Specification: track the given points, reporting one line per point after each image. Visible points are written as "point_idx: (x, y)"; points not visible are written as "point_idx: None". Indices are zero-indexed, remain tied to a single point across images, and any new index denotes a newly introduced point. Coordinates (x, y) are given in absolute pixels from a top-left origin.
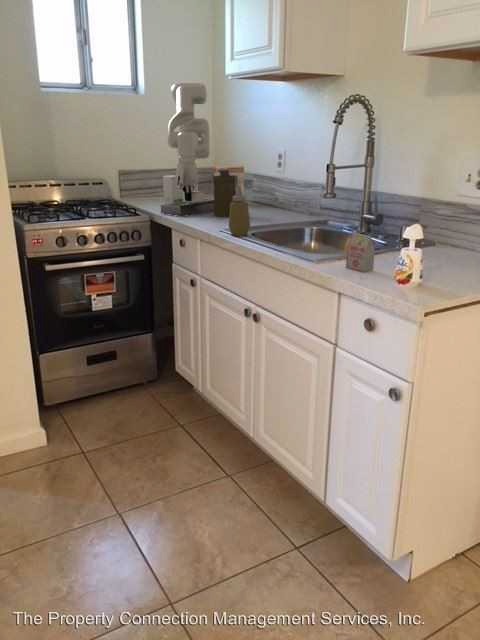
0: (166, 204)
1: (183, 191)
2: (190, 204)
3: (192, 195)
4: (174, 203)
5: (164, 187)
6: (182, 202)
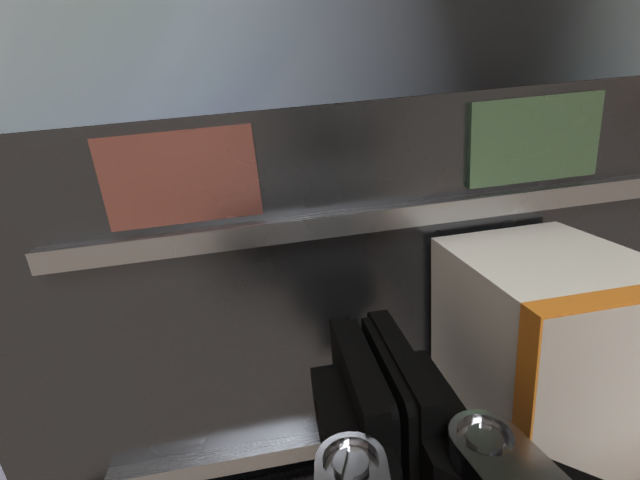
0: (10, 159)
1: (317, 464)
2: None
3: (488, 401)
4: (137, 260)
5: None
6: (320, 236)
